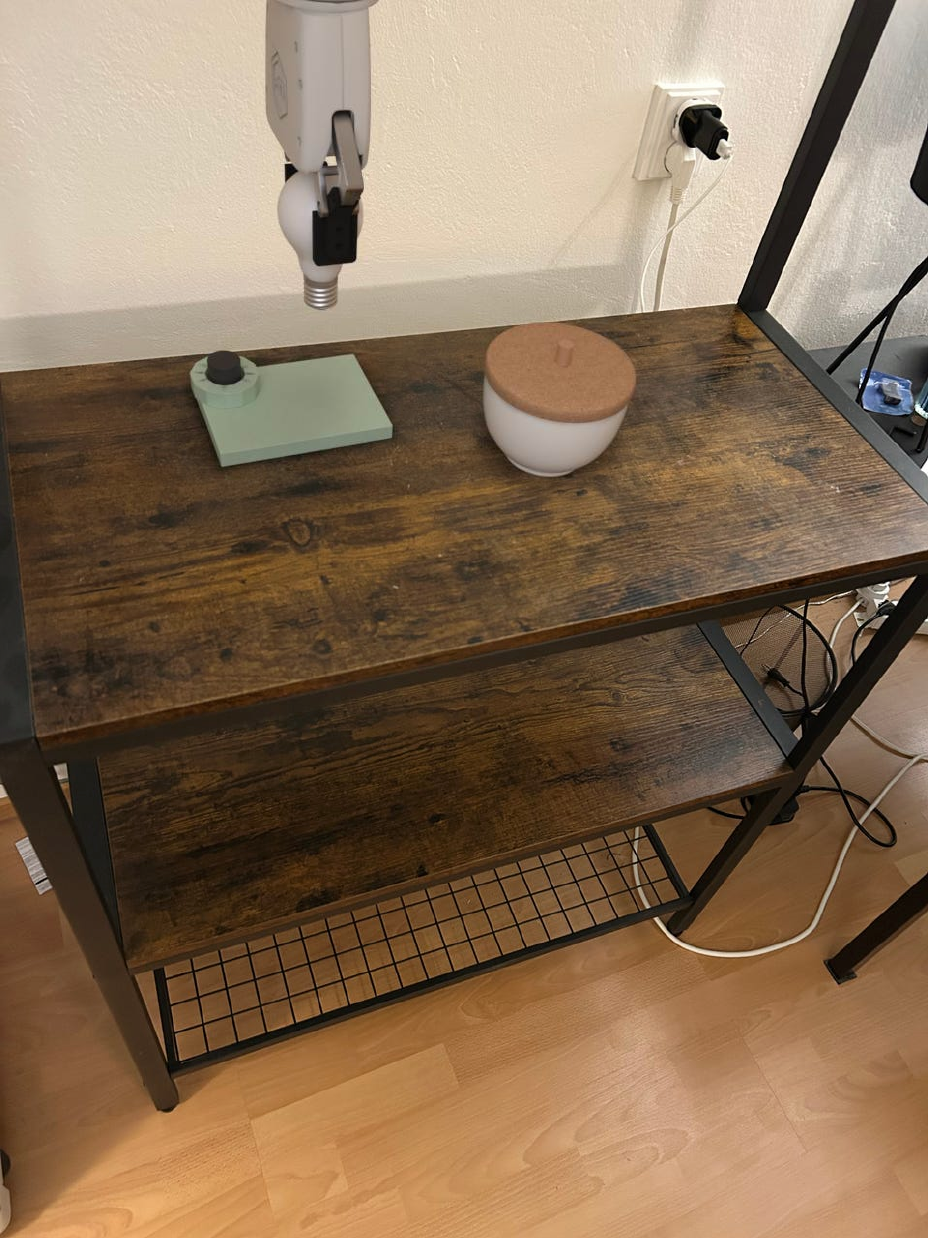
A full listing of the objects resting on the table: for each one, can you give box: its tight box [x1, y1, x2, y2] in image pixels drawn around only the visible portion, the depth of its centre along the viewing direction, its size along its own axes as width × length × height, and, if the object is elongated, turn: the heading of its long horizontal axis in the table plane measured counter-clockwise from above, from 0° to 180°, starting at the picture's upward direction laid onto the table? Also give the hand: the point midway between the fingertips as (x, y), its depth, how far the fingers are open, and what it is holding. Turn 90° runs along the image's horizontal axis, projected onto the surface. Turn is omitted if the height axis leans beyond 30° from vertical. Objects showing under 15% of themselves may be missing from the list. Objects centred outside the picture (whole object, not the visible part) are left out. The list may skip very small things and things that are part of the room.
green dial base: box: [189, 353, 394, 468], centre depth 85 cm, size 15×11×3 cm
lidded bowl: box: [482, 321, 638, 478], centre depth 82 cm, size 13×13×11 cm
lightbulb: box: [276, 171, 365, 311], centre depth 74 cm, size 6×6×11 cm
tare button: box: [207, 349, 242, 385], centre depth 84 cm, size 3×3×2 cm
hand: (320, 236), depth 73 cm, fingers closed on lightbulb, 6 cm apart
